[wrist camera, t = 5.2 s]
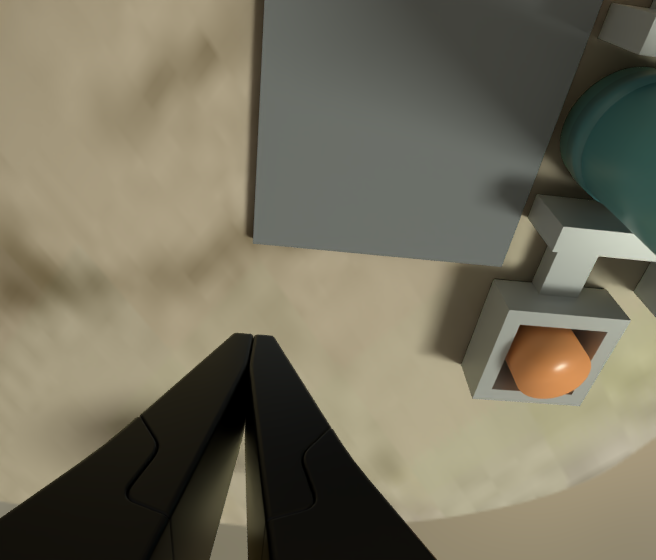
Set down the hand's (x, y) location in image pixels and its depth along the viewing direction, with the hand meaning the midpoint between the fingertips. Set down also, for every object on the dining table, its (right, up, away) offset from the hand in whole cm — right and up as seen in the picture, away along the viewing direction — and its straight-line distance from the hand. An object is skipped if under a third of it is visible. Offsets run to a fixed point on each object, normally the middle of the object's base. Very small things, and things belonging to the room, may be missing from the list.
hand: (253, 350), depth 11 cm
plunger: (+12, -1, +17) cm, 21 cm away
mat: (+5, +9, +10) cm, 14 cm away
